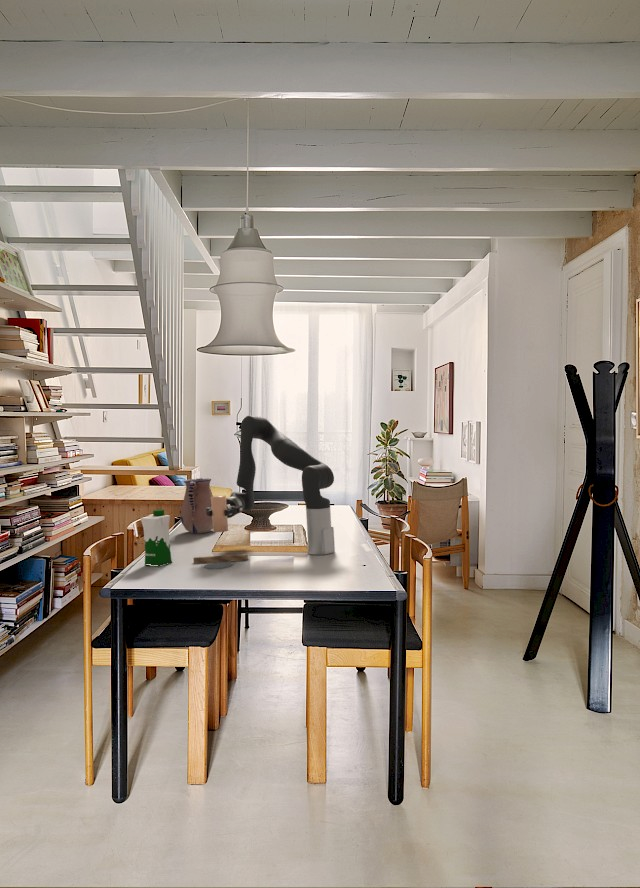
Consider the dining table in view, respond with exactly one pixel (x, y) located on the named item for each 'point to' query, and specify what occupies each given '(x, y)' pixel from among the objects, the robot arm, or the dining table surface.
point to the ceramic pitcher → (197, 506)
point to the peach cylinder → (219, 513)
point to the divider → (220, 558)
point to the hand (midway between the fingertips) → (217, 513)
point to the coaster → (218, 565)
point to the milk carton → (157, 538)
